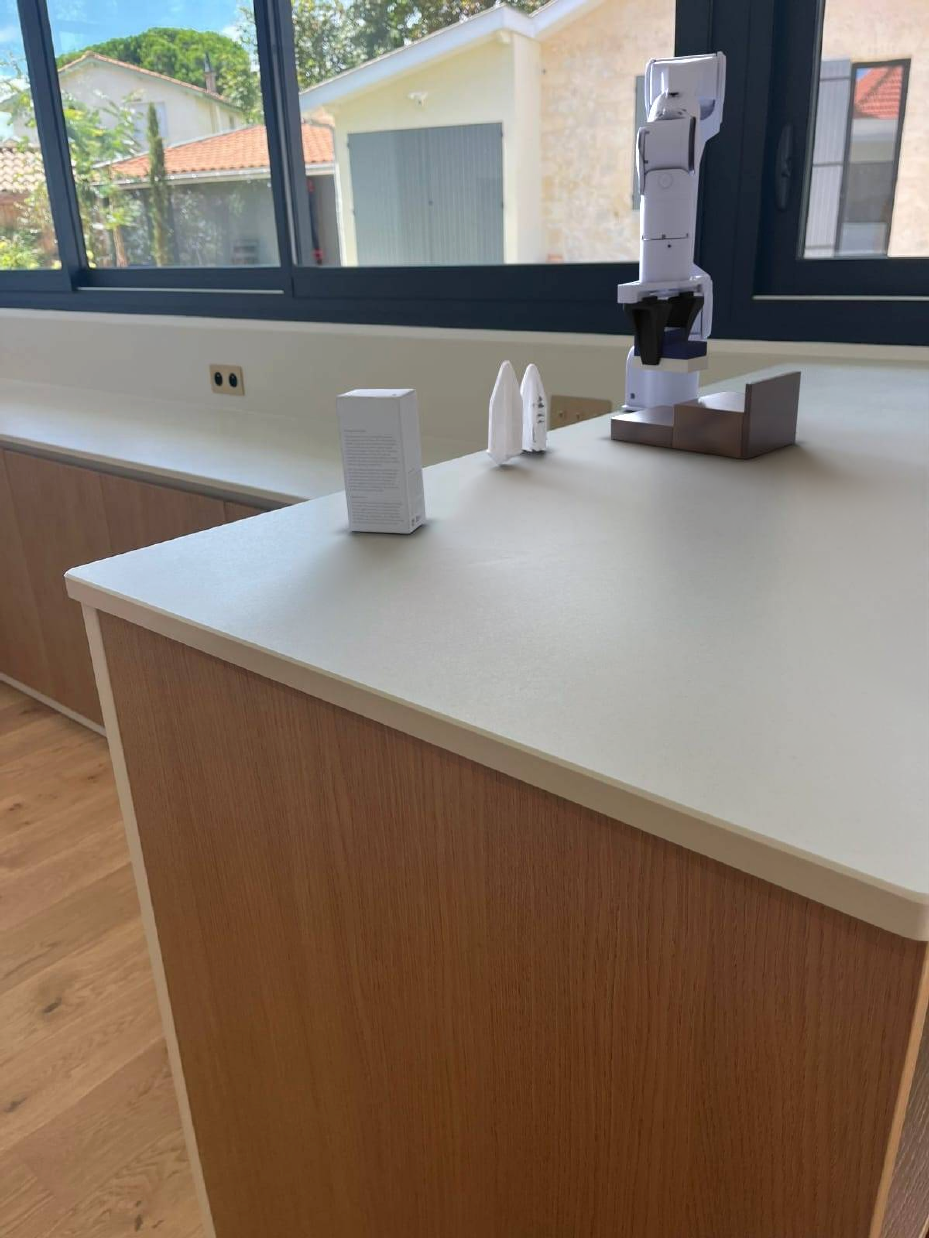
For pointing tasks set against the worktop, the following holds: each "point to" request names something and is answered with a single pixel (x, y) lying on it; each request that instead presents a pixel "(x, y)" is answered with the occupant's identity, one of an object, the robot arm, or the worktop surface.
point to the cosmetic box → (381, 459)
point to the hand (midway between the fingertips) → (662, 362)
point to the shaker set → (516, 414)
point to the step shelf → (721, 420)
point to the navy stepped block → (676, 353)
